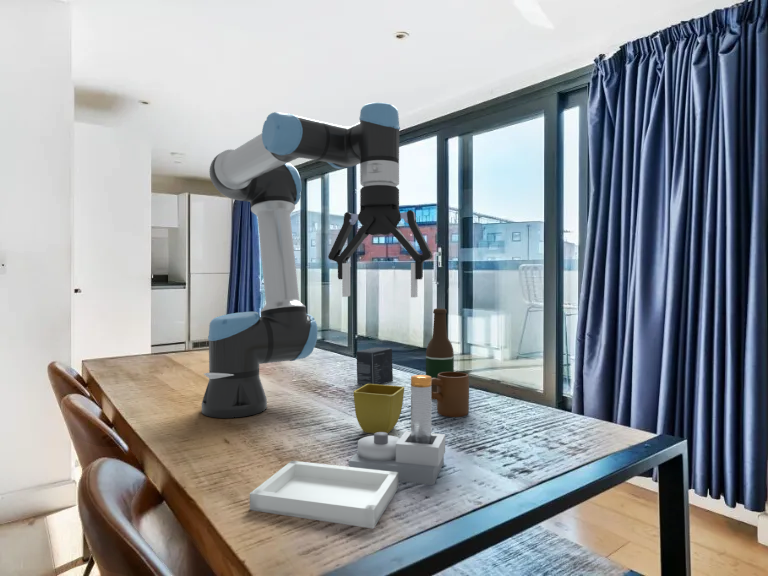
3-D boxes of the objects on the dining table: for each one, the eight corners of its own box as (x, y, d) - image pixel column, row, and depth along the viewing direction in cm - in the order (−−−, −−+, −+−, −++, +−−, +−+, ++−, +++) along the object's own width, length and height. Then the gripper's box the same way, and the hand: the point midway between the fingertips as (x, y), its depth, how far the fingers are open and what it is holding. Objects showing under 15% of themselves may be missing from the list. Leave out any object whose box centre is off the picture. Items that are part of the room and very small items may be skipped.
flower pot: (405, 427, 109) (405, 386, 109) (392, 439, 101) (392, 395, 100) (367, 423, 112) (367, 383, 111) (352, 435, 103) (352, 391, 103)
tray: (249, 511, 70) (249, 493, 70) (291, 475, 82) (291, 460, 82) (373, 529, 65) (373, 509, 65) (398, 488, 77) (398, 472, 77)
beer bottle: (423, 392, 141) (423, 307, 141) (450, 392, 142) (450, 307, 142) (428, 399, 134) (428, 309, 133) (456, 398, 134) (457, 309, 134)
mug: (434, 422, 112) (434, 380, 112) (415, 414, 119) (415, 375, 119) (475, 415, 119) (475, 375, 118) (455, 407, 125) (455, 370, 125)
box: (376, 379, 161) (376, 346, 160) (393, 381, 157) (393, 348, 157) (355, 385, 152) (355, 350, 152) (373, 387, 148) (373, 352, 148)
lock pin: (408, 459, 83) (408, 378, 82) (413, 452, 86) (413, 374, 86) (429, 461, 82) (429, 379, 81) (433, 454, 85) (433, 375, 85)
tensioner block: (348, 475, 82) (348, 441, 82) (367, 455, 92) (367, 424, 92) (436, 485, 78) (436, 449, 78) (446, 463, 88) (446, 430, 88)
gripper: (311, 186, 96) (312, 296, 97) (441, 180, 90) (441, 298, 90) (326, 192, 104) (326, 295, 104) (446, 187, 97) (446, 296, 98)
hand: (379, 297), depth 97 cm, fingers open, 13 cm apart
